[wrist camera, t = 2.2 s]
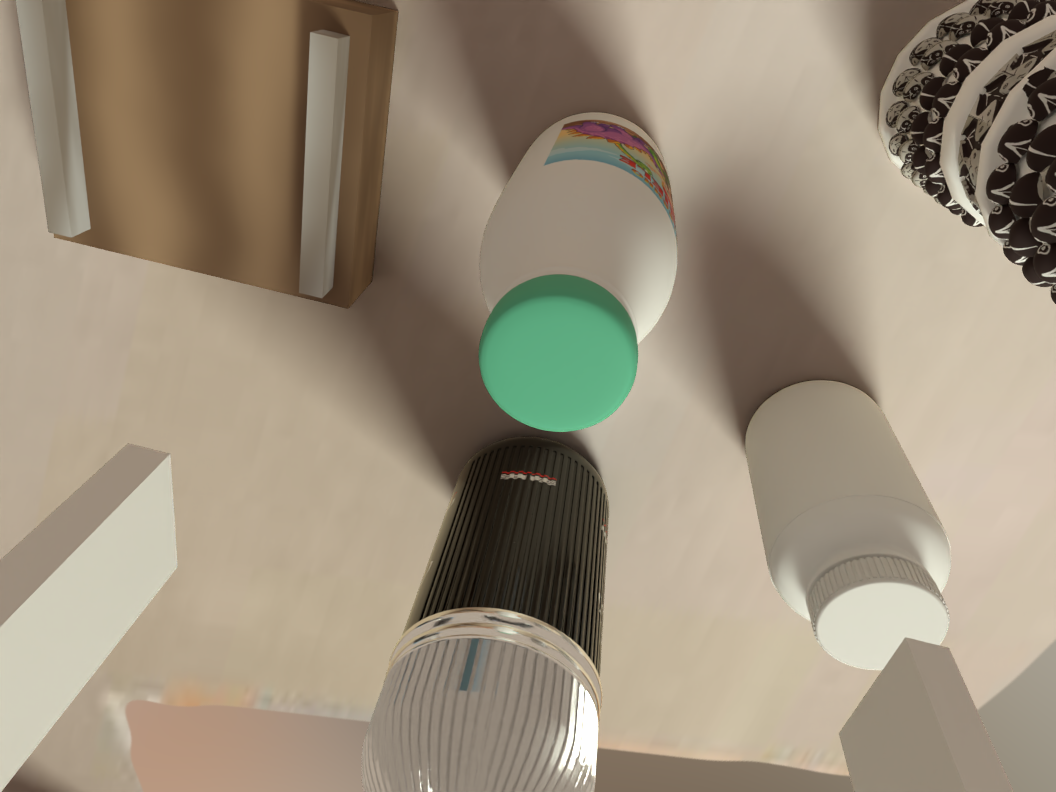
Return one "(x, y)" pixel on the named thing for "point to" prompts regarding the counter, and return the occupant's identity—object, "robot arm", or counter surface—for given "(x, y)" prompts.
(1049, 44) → the decorative candle
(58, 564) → the robot arm
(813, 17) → the counter surface
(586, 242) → the milk bottle
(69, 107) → the display riser
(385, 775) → the black water bottle
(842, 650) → the pill bottle
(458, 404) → the counter surface
